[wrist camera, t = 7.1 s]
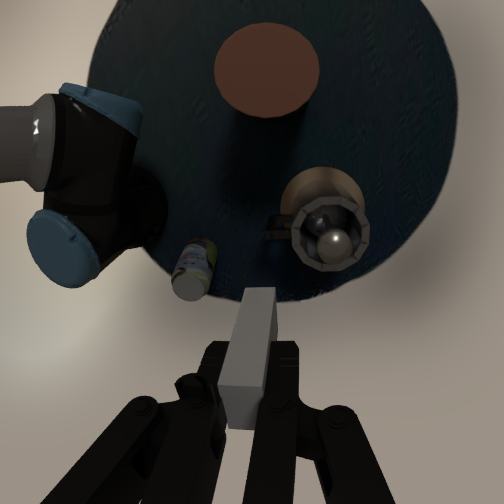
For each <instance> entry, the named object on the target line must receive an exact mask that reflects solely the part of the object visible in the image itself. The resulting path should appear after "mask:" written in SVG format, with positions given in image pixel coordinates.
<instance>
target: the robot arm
mask: <svg viewBox="0 0 504 504" xmlns="http://www.w3.org/2000/svg"><path fill="white" fill-rule="evenodd" d="M142 118H143V109H142V107H141V105H140V104H139V103H138V102H136V101H133V100H130V99H127V98H124V97H120V96H117V95H114V94H110V93H106V92H103V91H99V90H95V89H91V88H87V87H83V86H80V85H76V84H71V83H64V84H63V85H62V86H61V88H60V89H59V94H44V95H43V96H41V97H40V98H39V99H38V100H37V101H36V102H35V103H34V104H33V105H31V106H2V107H0V183H5V182H14V181H25V182H27V183H28V184H29V185H30V187H32V188H33V190H34V191H36V192H43V191H44V202H43V209H42V210H39V211H37V212H36V213H35V214H34V216H33V217H32V218H31V219H30V220H29V223H28V225H27V243H28V246H29V250H30V252H31V255H32V257H33V259H34V261H35V263H36V264H37V265H38V266H39V268H40V269H41V271H42V272H43V273H44V274H45V275H46V276H47V277H48V278H49V279H50V280H52V281H53V282H55V283H56V284H58V285H60V286H63V287H66V288H78V287H82V286H83V285H85V284H86V283H88V282H89V281H90V280H92V279H95V278H96V277H97V276H98V275H99V273H100V272H101V271H102V270H104V269H105V268H106V267H107V266H108V265H109V264H110V263H111V262H113V261H114V260H115V259H116V258H117V257H118V256H119V255H121V254H122V253H123V252H124V251H125V250H127V249H132V248H138V247H142V246H144V245H146V244H148V243H150V242H151V241H152V240H153V239H155V238H156V237H157V236H158V235H159V234H160V233H161V231H162V230H163V228H164V226H165V223H166V220H167V215H168V204H167V199H166V195H165V192H164V190H163V188H162V186H161V185H160V183H159V182H158V180H157V179H156V178H155V177H154V176H153V175H152V174H151V173H149V172H148V171H146V170H144V169H142V168H140V167H136V166H131V165H132V161H133V156H134V152H135V148H136V144H137V140H138V139H140V134H139V132H140V127H141V123H142ZM277 335H278V324H277V308H276V291H275V287H264V288H245V291H244V294H243V298H242V301H241V305H240V308H239V312H238V315H237V319H236V322H235V326H234V329H233V333H232V336H231V339H230V341H213V342H212V343H211V344H210V345H209V346H208V347H207V348H206V350H205V353H204V355H203V358H202V361H201V365H200V366H199V369H198V371H197V373H189V374H186V375H183V376H182V377H181V378H179V379H178V380H177V381H176V383H175V387H176V390H177V393H178V395H179V398H180V399H179V400H177V401H172V402H166V403H157V401H156V400H155V399H154V398H152V397H150V396H139V397H136V398H134V399H132V400H131V401H130V402H129V403H128V404H127V405H126V406H125V407H124V408H123V410H122V411H121V412H120V413H119V414H118V415H117V416H116V418H115V419H114V420H113V421H112V422H111V424H110V425H109V426H108V427H107V428H106V429H105V430H104V431H103V433H102V434H101V435H100V436H99V437H98V438H97V439H96V441H95V442H94V443H93V444H92V445H91V446H90V448H89V449H88V450H87V451H86V452H85V453H84V454H83V456H82V457H81V458H80V459H79V460H78V461H77V462H76V463H75V465H74V466H73V467H72V468H71V469H70V470H69V472H68V473H67V474H66V475H65V476H64V477H63V478H62V479H61V480H60V482H59V483H58V484H57V485H56V486H55V487H54V489H53V490H52V491H51V492H50V493H49V494H48V495H47V496H46V498H45V499H44V500H43V501H42V502H41V503H40V504H139V502H140V501H141V503H140V504H212V500H213V496H214V492H215V487H216V483H217V478H218V474H219V470H220V466H221V461H222V457H223V453H224V448H225V444H226V433H225V429H226V424H227V423H228V427H229V429H242V430H255V432H254V438H253V445H252V451H251V457H250V463H249V469H248V475H247V480H246V485H245V491H244V497H243V502H242V504H293V496H294V483H295V468H296V456H299V457H302V458H305V459H309V460H313V461H314V464H315V467H316V470H317V474H318V477H319V481H320V484H321V488H322V491H323V494H324V497H325V501H326V504H395V501H394V499H393V497H392V494H391V492H390V490H389V487H388V485H387V483H386V480H385V478H384V476H383V473H382V471H381V469H380V466H379V464H378V462H377V460H376V457H375V455H374V453H373V450H372V449H371V446H370V444H369V441H368V439H367V437H366V435H365V432H364V430H363V428H362V426H361V424H360V421H359V419H358V417H357V415H356V414H355V413H354V411H353V410H352V409H350V408H348V407H347V406H342V405H334V406H330V407H328V408H325V409H324V410H318V409H314V408H311V407H309V406H307V405H305V404H304V403H303V402H302V401H301V400H300V398H299V348H298V346H297V345H296V343H295V341H277ZM141 499H142V500H141Z"/></svg>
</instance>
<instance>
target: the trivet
mask: <svg viewBox="0 0 504 504" xmlns="http://www.w3.org/2000/svg"><path fill="white" fill-rule="evenodd" d="M323 179H331V180H333V181H335V182H336V183H338V184H340V185H342V186H344V187H345V188H346V189H347V190H348V192H349V193H350V194H351V196H352V197H353V198H354V200H355V201H356V202H357V203H358V205H359V206H360V208H361V210H362V211H363V213H364V214H365V203H364V198H363V195H362V192H361V190H360V188H359V186H358V185H357V184H356V182H355V181H354V180H353V179H352V178H351V177H350V176H348V175H347V174H346V173H344V172H342V171H340V170H338V169H335V168H331V167H314V168H310V169H307V170H305V171H303V172H301V173H299V174H298V175H297V176H295V177H294V178H293V179H292V180H291V181H290V182H289V184H288V185H287V187H286V188H285V190H284V193H283V195H282V199H281V205H280V213H281V214H292V202H293V200H294V198H295V197H296V195H297V193H298V191H299V189H300V188H301V187H303V186H305V185H306V184H308V183H309V182H311V181H313V180H323ZM284 227H285V228H288V227H291V223H284Z"/></svg>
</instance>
